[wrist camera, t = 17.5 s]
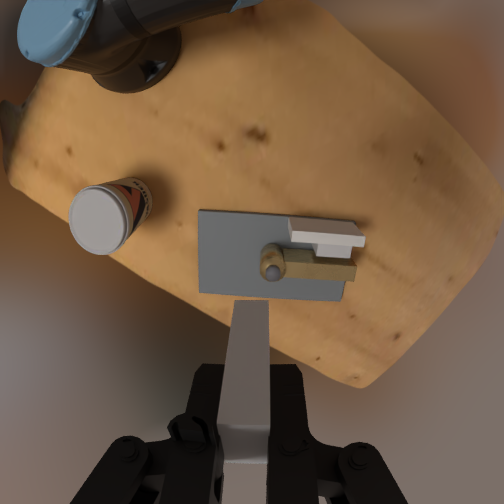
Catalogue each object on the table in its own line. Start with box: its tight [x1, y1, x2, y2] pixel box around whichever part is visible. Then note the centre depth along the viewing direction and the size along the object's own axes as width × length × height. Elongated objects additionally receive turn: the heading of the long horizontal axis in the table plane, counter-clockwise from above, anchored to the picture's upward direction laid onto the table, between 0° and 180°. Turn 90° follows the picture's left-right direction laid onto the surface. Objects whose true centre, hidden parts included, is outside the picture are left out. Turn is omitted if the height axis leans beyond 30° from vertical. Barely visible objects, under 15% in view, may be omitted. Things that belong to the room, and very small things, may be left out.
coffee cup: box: [69, 178, 152, 255], centre depth 40 cm, size 9×9×12 cm
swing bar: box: [260, 244, 357, 282], centre depth 43 cm, size 14×4×6 cm, turn 86°
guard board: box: [198, 209, 366, 301], centre depth 44 cm, size 14×24×8 cm, turn 87°
